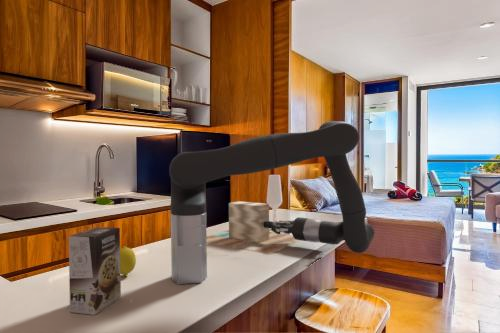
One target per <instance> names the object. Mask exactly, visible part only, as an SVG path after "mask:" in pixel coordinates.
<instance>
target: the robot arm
mask: <svg viewBox="0 0 500 333" xmlns="http://www.w3.org/2000/svg"><path fill="white" fill-rule="evenodd" d="M359 139H360V134H359V130H358V129H357V128H356V127H355V126H354V125H353V124H351V123H349V122H346V121H340V120H339V121H338V120H337V121H336V120H329V121H326V122H323V123H322V124H321V125H320V126H319V128H318V129H315V130H311V131H305V132H304V131H303V132H286V133H285V132H284V133H283V132H282V133H274V134H267V135H263V136H257V137H254V138H250V139H245V140H242V141H240V142H237V143H233V144H231V145H229V146H225V147H221V148H216V149H208V150H200V151H184V152H181V153H179V154H176V156H174V157H173V158H172V160H171V162H170V164H169V167H168V168H169V170H168V171H169V176H170V247H171V249H170V256H171V257H170V258H171V259H170V260H171V262H170V263H171V264H170V265H171V280H172V282H175V283H176V285H185V284H196V283H203V281H204V280H205V279H206V278H207V277H208V261H207V260H208V258H207V256H208V254H207V246H208V245H207V244H208V243H207V241H206V237H207V193H206V192H207V191H206V185H207V184H206V183H208V182H212V181H214V180H215V181H216V180H218V179H222V178H225V177H229V176H231V177H232V176H239V175H246V174H247V175H248V174H254V173H259V172H265V171H270V170H275V169H278V168H282V167H287V166H290V165H293V164H298V163H302V162H304V161H308V160H312V159H317V158H324V160H325V163H326V165H327V167H328V171H329V173H330V176H331V179H332V182H333V186H334V189H335V192H336V195H337V196H336V197H337V202H338V205H339V208H340V211H341V212H340V213H341V215H342V221H337V222H335V221H327V220H322V219H321V220H320V219H318V218H317V219H316V218H309V217H308V218H307V217H296V218H295V219H294V220H293V219H292V220H278V221H277V220H276V222H273V221H270V220H269V221H265V222H264V228H269V229H271V231H270V232H273V233H276V234H280V233H281V234H288V235H293V237H294V239H296V240H299V241H301V242H302V241H303V242H310V243H321V244H327V245H338V244H340V243H341V242H343V241H344V242H345V245H346V246H347V248H348V250H350V251H352V252H353V253H355V254H362V253H364V252H366V251H367V250H368V249H369V247H370V245H371V243H372V241H373V239H374V237H375V229H374V227H373V226H372V225H371V224H369V223H368V222H366V221H365V220H366V215H367V209H366V204H365V199H364V195H363V192H362V189H361V187H360V185H359V183H358V181H357V179H356V177H355V175H354V173H353V171H352V169H351V166H350V165H349V161H348V158H347V154H349V153H350V152H352V151H353V150H354V149H355V148H356V147H357V145H358V143H359Z"/></svg>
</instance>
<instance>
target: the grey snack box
mask: <svg viewBox="0 0 500 333" xmlns="http://www.w3.org/2000/svg"><path fill="white" fill-rule="evenodd" d="M120 229H121V228H120V227H109V226H108V227H106V226H105V227H104V226H103V227H93V228H90V229H87V230H84V231H80V232H78V233H73V234H70V235H68V257H69V258H68V263H69V264H68V265H69V266H68V267H69V269H68V270H69V271H68V272H69V273H68V274H69V275H68V276H69V278H68V279H69V284H68V285H69V312H70V313H76V314H85V315H91V316H94V315H97V314H99V313H100V312H101V311H103V310H104V309H106V308H107V307H108V306H110V305H112V304H113V303H115V301H118V300H119V299H120V298H121V297H122V291H121V289H122V288H121V284H122V283H121V279H122V278H121V274H120V249H121V238H120V235H121V234H120V233H121V232H120V231H121V230H120Z"/></svg>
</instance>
